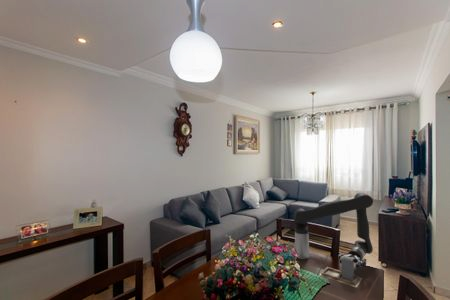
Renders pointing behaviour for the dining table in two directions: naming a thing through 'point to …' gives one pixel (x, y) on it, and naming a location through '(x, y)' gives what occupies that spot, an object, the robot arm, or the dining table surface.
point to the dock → (339, 277)
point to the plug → (347, 268)
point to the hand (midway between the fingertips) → (348, 263)
